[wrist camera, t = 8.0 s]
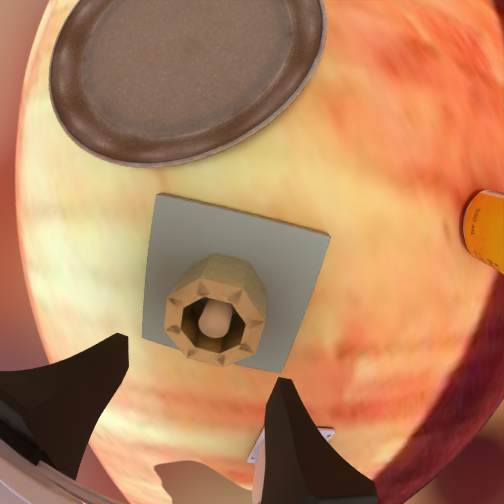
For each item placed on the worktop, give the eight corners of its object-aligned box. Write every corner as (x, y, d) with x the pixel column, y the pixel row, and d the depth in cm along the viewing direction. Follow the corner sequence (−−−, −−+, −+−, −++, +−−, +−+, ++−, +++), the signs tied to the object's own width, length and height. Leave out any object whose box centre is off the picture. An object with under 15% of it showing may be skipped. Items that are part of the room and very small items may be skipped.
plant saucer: (335, 154, 17) (349, 151, 14) (73, 188, 19) (48, 193, 16) (297, -52, 12) (299, -73, 8) (82, -3, 13) (65, -15, 10)
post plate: (280, 366, 22) (282, 408, 18) (146, 331, 22) (122, 366, 17) (327, 233, 19) (346, 255, 14) (161, 192, 19) (129, 202, 14)
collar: (252, 333, 20) (248, 372, 16) (181, 315, 20) (162, 350, 16) (272, 266, 19) (273, 296, 14) (192, 246, 19) (170, 270, 14)
